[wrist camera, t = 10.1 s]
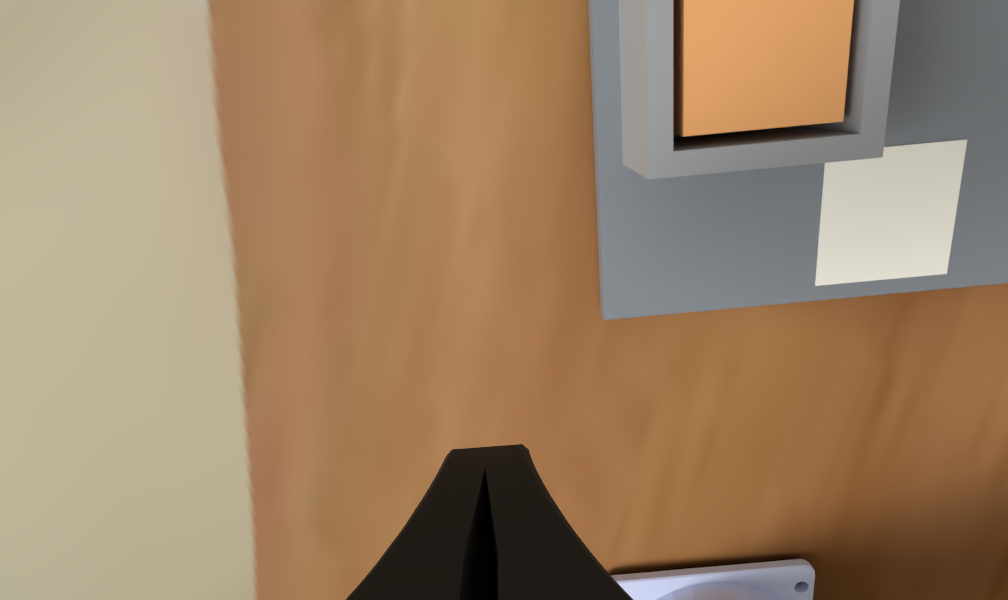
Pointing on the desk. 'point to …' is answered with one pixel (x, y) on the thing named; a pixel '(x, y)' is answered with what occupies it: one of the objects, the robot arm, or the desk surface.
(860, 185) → the grey sorting board
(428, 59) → the desk surface
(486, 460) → the robot arm
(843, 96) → the button
